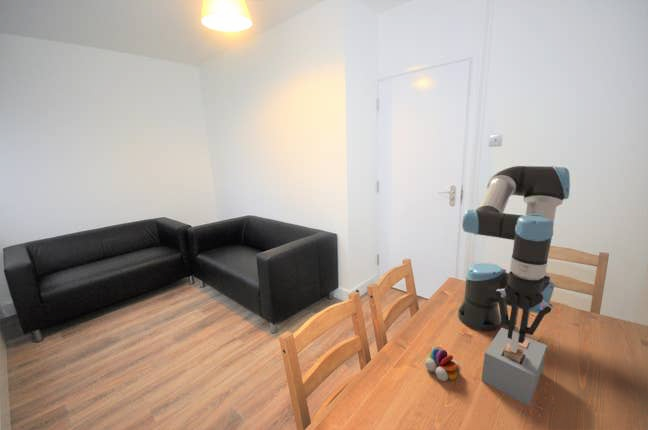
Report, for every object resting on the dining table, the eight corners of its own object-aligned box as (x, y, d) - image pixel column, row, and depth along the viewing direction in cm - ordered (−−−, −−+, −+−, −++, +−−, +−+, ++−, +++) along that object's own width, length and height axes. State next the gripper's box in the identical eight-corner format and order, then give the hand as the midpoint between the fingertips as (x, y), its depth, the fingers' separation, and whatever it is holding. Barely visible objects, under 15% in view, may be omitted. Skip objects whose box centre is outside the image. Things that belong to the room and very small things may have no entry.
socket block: (481, 380, 83) (485, 351, 81) (497, 352, 94) (501, 326, 91) (529, 406, 75) (535, 375, 72) (541, 372, 85) (547, 344, 83)
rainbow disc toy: (445, 388, 81) (447, 367, 80) (420, 365, 90) (421, 346, 88) (464, 376, 85) (467, 356, 83) (438, 356, 94) (440, 337, 92)
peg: (500, 375, 82) (504, 350, 79) (504, 368, 84) (508, 343, 82) (515, 383, 79) (520, 357, 77) (519, 375, 81) (523, 349, 79)
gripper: (494, 271, 75) (484, 344, 81) (555, 287, 66) (539, 369, 72) (502, 262, 80) (492, 332, 86) (560, 277, 71) (545, 354, 77)
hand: (514, 349), depth 79 cm, fingers closed
